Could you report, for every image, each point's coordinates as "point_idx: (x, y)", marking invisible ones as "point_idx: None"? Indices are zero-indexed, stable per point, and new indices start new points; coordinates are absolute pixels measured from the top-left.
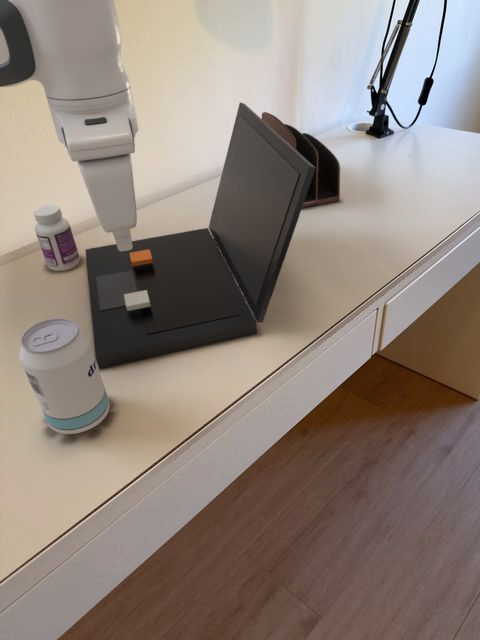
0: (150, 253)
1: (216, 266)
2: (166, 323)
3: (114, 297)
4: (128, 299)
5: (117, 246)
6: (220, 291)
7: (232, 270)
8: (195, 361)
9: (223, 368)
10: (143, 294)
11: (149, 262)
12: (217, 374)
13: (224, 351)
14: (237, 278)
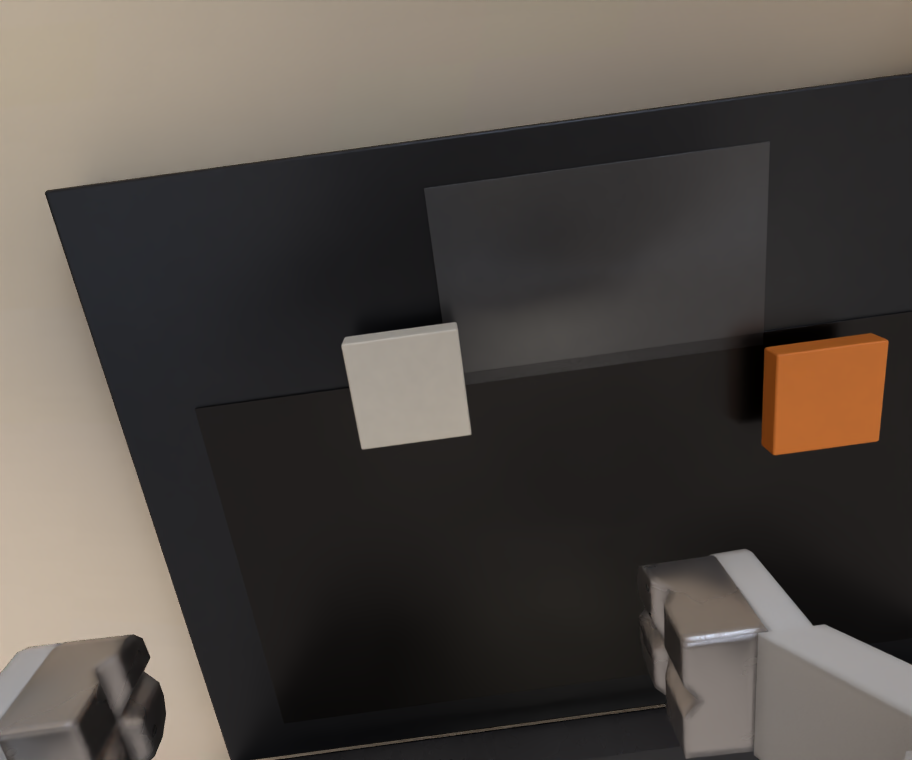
0: (829, 447)
1: None
2: (263, 484)
3: (527, 254)
4: (402, 353)
5: (3, 674)
6: (455, 676)
7: (588, 729)
8: (112, 538)
9: (69, 616)
10: (431, 422)
11: (763, 431)
12: (38, 598)
13: (161, 625)
14: (517, 743)
